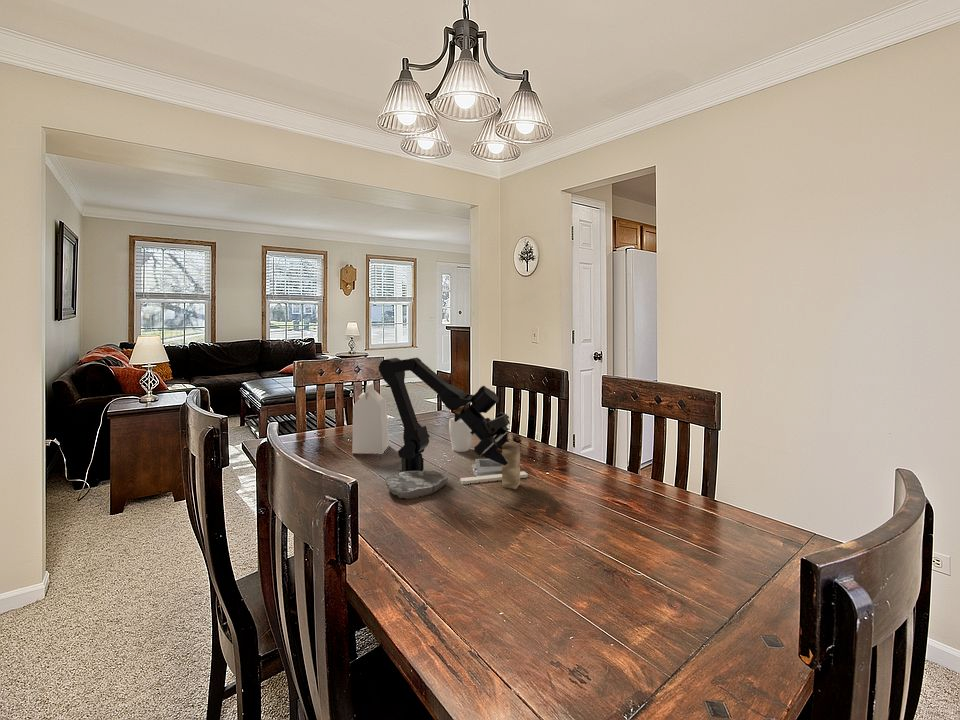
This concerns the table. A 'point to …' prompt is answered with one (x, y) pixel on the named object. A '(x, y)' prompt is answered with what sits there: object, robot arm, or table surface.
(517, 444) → the block
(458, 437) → the cup
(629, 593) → the table surface
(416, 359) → the robot arm
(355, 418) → the milk
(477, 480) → the door edge strip
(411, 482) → the brain slice
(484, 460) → the keeper
